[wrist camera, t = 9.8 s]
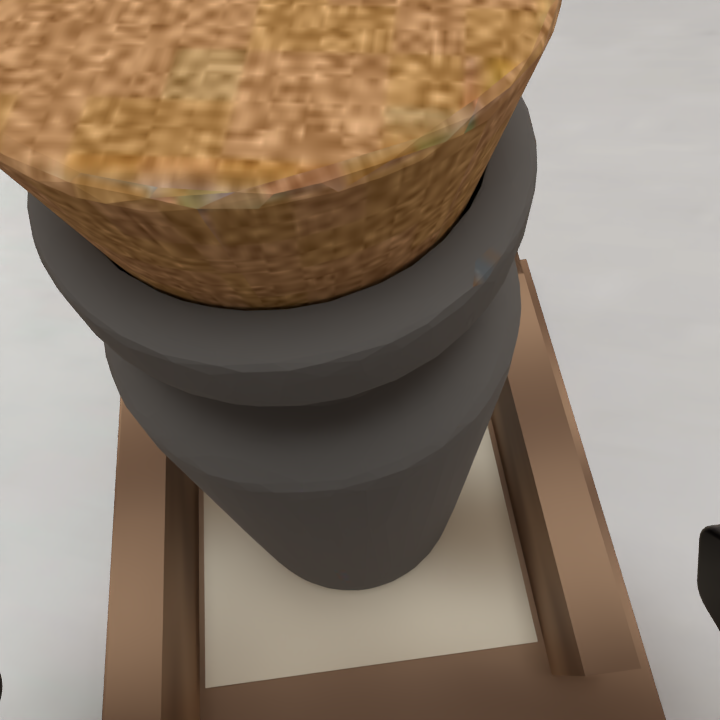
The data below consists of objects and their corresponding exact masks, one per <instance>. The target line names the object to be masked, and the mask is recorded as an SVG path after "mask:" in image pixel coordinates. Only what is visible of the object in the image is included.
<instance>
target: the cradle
mask: <svg viewBox="0 0 720 720" xmlns="http://www.w3.org/2000/svg"><path fill="white" fill-rule="evenodd" d="M514 259H515V262H516V267H517V272H518V277H519V282H520V295H521V317H520V326H519V332H518V337H517V341H516V345H515V349H514V353H513V357H512V361H511V365H510V369H509V373H508V375H507V378H506V381H505V383H504V386H503V388H502V391H501V393H500V396H499V398H498V401H497V403H496V406H495V408H494V411H493V413H492V416H491V418H490V421H489V423H488V426H487V428H486V431H485V433H484V436H483V438H482V441H481V443H480V446H479V448H478V451H477V453H476V456H475V458H474V461H473V463H472V466H471V468H470V471H469V473H468V476H467V478H466V481H465V483H464V486H463V488H462V491H461V493H460V495H459V498H458V500H457V503H456V505H455V508H454V510H453V512H452V514H451V516H450V518H449V520H448V523H447V525H446V527H445V529H444V531H443V533H442V535H441V537H440V539H439V540H438V542H437V543H436V545H435V546H434V547H433V549H432V550H431V552H430V553H429V554H428V555H427V556H426V557H425V558H424V559H423V560H422V561H421V562H420V563H419V564H418V565H417V566H416V567H415V568H414V569H412V570H411V571H409V572H408V573H406V574H405V575H403V576H401V577H399V578H398V579H396V580H394V581H392V582H390V583H387V584H384V585H381V586H378V587H374V588H370V589H364V590H338V589H331V588H326V587H323V586H320V585H317V584H314V583H311V582H309V581H306V580H304V579H302V578H301V577H299V576H297V575H296V574H294V573H293V572H291V571H290V570H288V569H287V568H286V567H284V566H283V565H282V564H281V563H279V562H278V561H277V560H276V559H275V558H274V557H273V556H271V555H270V554H269V553H268V552H267V551H266V550H265V549H264V548H263V547H262V546H261V545H259V544H258V543H257V542H256V541H255V540H254V539H253V538H252V537H251V536H250V535H248V534H247V533H246V532H245V531H244V530H243V529H242V528H241V527H240V526H239V525H238V524H237V523H236V522H235V521H234V520H233V519H232V518H231V517H230V516H229V515H228V514H227V513H226V512H225V511H223V510H222V509H221V508H220V507H219V506H218V505H217V504H216V503H215V502H214V501H213V500H212V499H211V498H210V497H209V496H208V495H207V494H206V493H205V492H204V491H203V490H202V489H201V488H200V487H198V486H197V485H196V484H195V483H194V482H193V481H192V480H191V479H190V478H189V477H188V476H187V475H186V474H185V473H184V472H183V471H182V470H181V469H180V468H179V467H178V466H177V465H176V464H175V463H173V462H172V461H171V460H170V459H169V458H168V457H167V456H166V455H165V454H164V453H163V452H162V451H161V450H160V449H159V448H158V447H157V446H156V444H155V443H154V442H153V441H152V439H151V438H150V437H149V435H148V434H147V433H146V432H145V430H144V429H143V428H142V427H141V425H140V424H139V423H138V421H137V420H136V419H135V418H134V416H133V415H132V414H131V413H130V411H129V410H128V409H127V407H126V406H125V404H124V402H123V400H122V398H121V396H120V413H119V430H118V448H117V465H116V483H115V500H114V518H113V535H112V553H111V570H110V587H109V605H108V622H107V640H106V657H105V675H104V692H103V710H102V720H666V718H665V715H664V712H663V709H662V705H661V702H660V699H659V695H658V692H657V689H656V686H655V682H654V679H653V676H652V672H651V669H650V666H649V662H648V659H647V656H646V653H645V649H644V646H643V643H642V639H641V636H640V633H639V629H638V626H637V623H636V620H635V616H634V613H633V610H632V606H631V603H630V600H629V596H628V593H627V590H626V587H625V583H624V580H623V577H622V573H621V570H620V567H619V563H618V560H617V557H616V554H615V550H614V547H613V544H612V540H611V537H610V534H609V531H608V527H607V524H606V521H605V517H604V514H603V511H602V507H601V504H600V501H599V498H598V494H597V491H596V488H595V484H594V481H593V478H592V474H591V471H590V468H589V465H588V461H587V458H586V455H585V451H584V448H583V445H582V441H581V438H580V435H579V432H578V428H577V425H576V422H575V418H574V415H573V412H572V409H571V405H570V402H569V399H568V395H567V392H566V389H565V385H564V382H563V379H562V376H561V372H560V369H559V366H558V362H557V359H556V356H555V352H554V349H553V346H552V343H551V339H550V336H549V333H548V329H547V326H546V323H545V319H544V316H543V313H542V310H541V306H540V303H539V300H538V296H537V293H536V290H535V286H534V283H533V280H532V277H531V273H530V270H529V267H528V263H527V260H526V259H524V260H520V259H519V256H518V252H517V253H516V256H515V258H514Z"/></svg>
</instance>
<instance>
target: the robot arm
mask: <svg viewBox="0 0 720 720" xmlns="http://www.w3.org/2000/svg"><path fill="white" fill-rule="evenodd" d="M697 585H698V590H699V594H700V597H701V599H702V601H703V603H704V605H705V607H706V609H707V610H708V612H709V614H710V615H711V617H712V619H713V620H714V622H715V624H716V625H717V627H718V629H719V631H720V524H718V525H711V526H707V527H705V528H704V529H703V530H702V531H701V534H700V538H699V555H698V575H697ZM1 695H2V678H1V674H0V699H1Z"/></svg>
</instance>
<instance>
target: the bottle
mask: <svg viewBox="0 0 720 720" xmlns="http://www.w3.org/2000/svg"><path fill="white" fill-rule="evenodd" d="M561 2H562V0H0V169H1V170H2V171H4V172H5V173H6V174H7V175H9V176H10V177H11V178H12V179H13V180H15V181H16V182H17V183H18V184H20V185H21V186H22V187H23V188H24V189H26V190H27V191H28V203H27V208H28V214H29V219H30V224H31V230H32V235H33V239H34V243H35V246H36V249H37V251H38V254H39V256H40V259H41V262H42V263H43V265H44V267H45V269H46V270H47V272H48V274H49V275H50V277H51V279H52V280H53V282H54V284H55V285H56V287H57V288H58V290H59V291H60V292H61V293H62V295H63V296H64V297H65V299H66V300H67V301H68V302H69V303H70V305H71V306H72V307H73V308H74V309H75V311H76V312H77V313H78V314H79V315H80V317H81V318H82V319H83V320H84V321H85V322H86V324H87V325H88V326H89V327H90V328H91V330H92V331H93V332H94V333H95V334H96V335H97V336H98V337H99V338H100V339H101V340H102V341H103V342H104V345H105V353H106V358H107V361H108V364H109V368H110V371H111V374H112V377H113V379H114V382H115V384H116V386H117V389H118V391H119V394H120V396H121V398H122V400H123V402H124V404H125V406H126V407H127V409H128V410H129V411H130V413H131V414H132V415H133V416H134V418H135V419H136V420H137V421H138V423H139V424H140V425H141V427H142V428H143V429H144V430H145V432H146V433H147V434H148V435H149V437H150V438H151V439H152V441H153V442H154V443H155V444H156V446H157V447H158V448H159V449H160V450H161V451H162V452H163V453H164V454H165V455H166V456H167V457H168V458H169V459H170V460H171V461H172V462H173V463H175V464H176V465H177V466H178V467H179V468H180V469H181V470H182V471H183V472H184V473H185V474H186V475H187V476H188V477H189V478H190V479H191V480H192V481H193V482H194V483H195V484H196V485H197V486H198V487H200V488H201V489H202V490H203V491H204V492H205V493H206V494H207V495H208V496H209V497H210V498H211V499H212V500H213V501H214V502H215V503H216V504H217V505H218V506H219V507H220V508H221V509H222V510H223V511H225V512H226V513H227V514H228V515H229V516H230V517H231V518H232V519H233V520H234V521H235V522H236V523H237V524H238V525H239V526H240V527H241V528H242V529H243V530H244V531H245V532H246V533H247V534H248V535H250V536H251V537H252V538H253V539H254V540H255V541H256V542H257V543H258V544H259V545H261V546H262V547H263V548H264V549H265V550H266V551H267V552H268V553H269V554H270V555H271V556H273V557H274V558H275V559H276V560H277V561H278V562H279V563H281V564H282V565H283V566H284V567H286V568H287V569H288V570H290V571H291V572H293V573H294V574H296V575H297V576H299V577H301V578H302V579H304V580H306V581H309V582H311V583H314V584H317V585H320V586H323V587H326V588H331V589H338V590H364V589H370V588H374V587H378V586H381V585H384V584H387V583H390V582H392V581H394V580H396V579H398V578H399V577H401V576H403V575H405V574H406V573H408V572H409V571H411V570H412V569H414V568H415V567H416V566H417V565H418V564H419V563H420V562H421V561H422V560H423V559H424V558H425V557H426V556H427V555H428V554H429V553H430V552H431V550H432V549H433V547H434V546H435V545H436V543H437V542H438V540H439V539H440V537H441V535H442V533H443V531H444V529H445V527H446V525H447V523H448V520H449V518H450V516H451V514H452V512H453V510H454V508H455V505H456V503H457V500H458V498H459V495H460V493H461V491H462V488H463V486H464V483H465V481H466V478H467V476H468V473H469V471H470V468H471V466H472V463H473V461H474V458H475V456H476V453H477V451H478V448H479V446H480V443H481V441H482V438H483V436H484V433H485V431H486V428H487V426H488V423H489V421H490V418H491V416H492V413H493V411H494V408H495V406H496V403H497V401H498V398H499V396H500V393H501V391H502V388H503V386H504V383H505V381H506V378H507V375H508V373H509V369H510V365H511V361H512V357H513V353H514V349H515V345H516V341H517V337H518V332H519V326H520V317H521V295H520V282H519V277H518V272H517V267H516V262H515V259H514V258H515V256H516V253H517V251H518V248H519V246H520V243H521V241H522V239H523V236H524V232H525V228H526V224H527V220H528V216H529V212H530V208H531V203H532V199H533V195H534V191H535V183H536V174H537V151H536V139H535V135H534V131H533V127H532V123H531V119H530V115H529V112H528V108H527V106H526V104H525V102H524V100H523V98H522V97H521V96H522V94H523V92H524V90H525V88H526V86H527V84H528V82H529V80H530V78H531V76H532V74H533V72H534V70H535V68H536V66H537V64H538V62H539V60H540V58H541V56H542V54H543V51H544V49H545V47H546V45H547V43H548V41H549V39H550V37H551V35H552V33H553V31H554V28H555V24H556V21H557V17H558V14H559V10H560V7H561Z"/></svg>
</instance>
